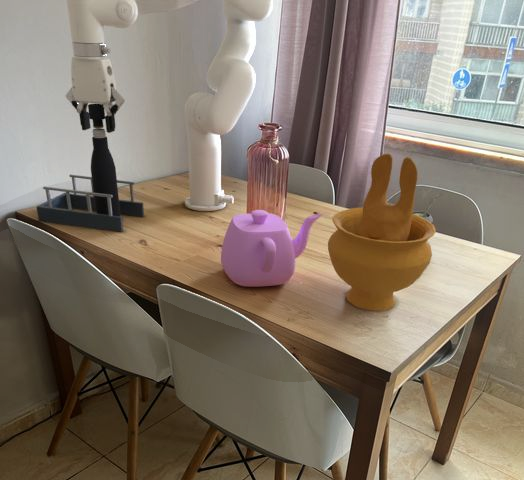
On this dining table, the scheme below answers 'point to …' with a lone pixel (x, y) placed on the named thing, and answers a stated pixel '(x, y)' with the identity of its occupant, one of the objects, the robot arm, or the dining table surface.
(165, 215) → the dining table surface
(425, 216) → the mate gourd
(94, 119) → the dark blue bottle
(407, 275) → the decorative bowl
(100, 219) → the dish rack
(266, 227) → the teapot
